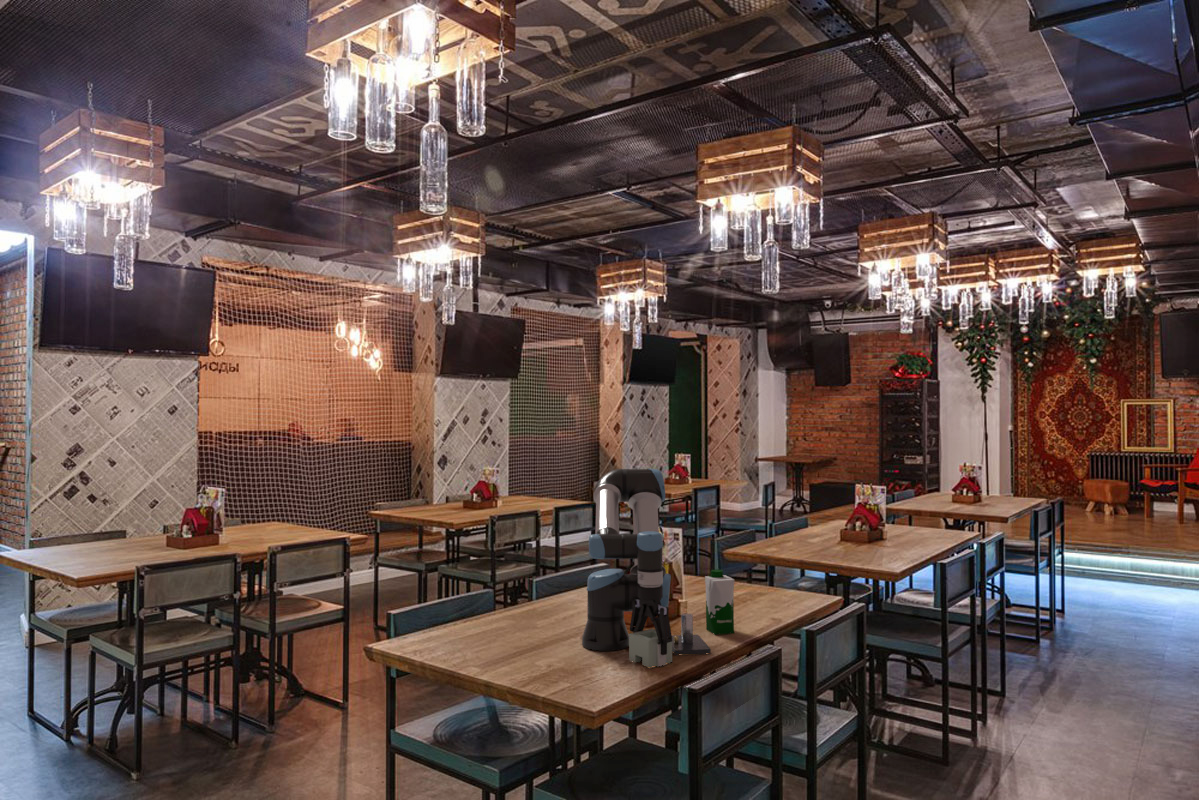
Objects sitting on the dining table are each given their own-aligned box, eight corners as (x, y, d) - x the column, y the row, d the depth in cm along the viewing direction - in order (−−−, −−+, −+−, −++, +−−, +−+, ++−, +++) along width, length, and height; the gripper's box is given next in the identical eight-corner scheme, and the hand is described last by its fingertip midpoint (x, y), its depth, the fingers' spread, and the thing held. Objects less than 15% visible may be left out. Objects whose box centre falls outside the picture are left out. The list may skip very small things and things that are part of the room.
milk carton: (726, 627, 269) (725, 568, 269) (737, 634, 260) (737, 573, 260) (702, 628, 266) (702, 570, 267) (713, 636, 258) (713, 575, 258)
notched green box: (648, 668, 225) (648, 640, 225) (629, 660, 232) (629, 633, 232) (672, 662, 230) (672, 635, 230) (652, 655, 237) (652, 628, 237)
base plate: (675, 655, 237) (675, 622, 237) (664, 640, 253) (664, 609, 253) (710, 653, 238) (710, 620, 238) (698, 639, 254) (697, 608, 254)
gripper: (617, 580, 238) (617, 654, 237) (665, 593, 220) (665, 673, 220) (636, 577, 242) (636, 650, 242) (684, 589, 225) (685, 668, 224)
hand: (650, 661), depth 231 cm, fingers open, 9 cm apart
